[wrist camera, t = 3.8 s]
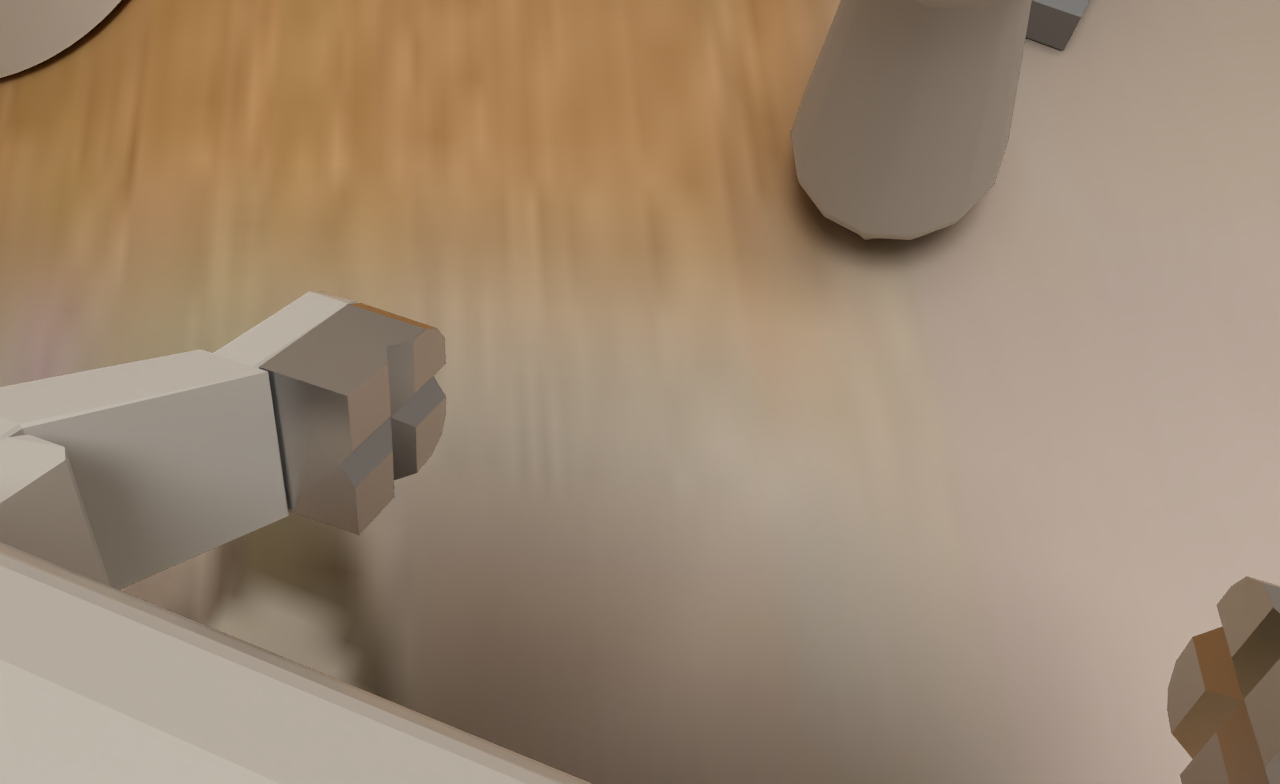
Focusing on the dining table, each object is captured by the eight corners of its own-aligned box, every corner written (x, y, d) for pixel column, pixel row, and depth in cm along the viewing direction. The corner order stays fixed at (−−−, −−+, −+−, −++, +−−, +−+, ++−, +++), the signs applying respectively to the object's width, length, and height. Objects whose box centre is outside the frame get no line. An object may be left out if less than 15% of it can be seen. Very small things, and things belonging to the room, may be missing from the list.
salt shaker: (823, 73, 27) (868, -360, 15) (1006, 116, 26) (1225, -317, 14) (765, 238, 26) (761, -74, 14) (952, 290, 25) (1133, 0, 13)
